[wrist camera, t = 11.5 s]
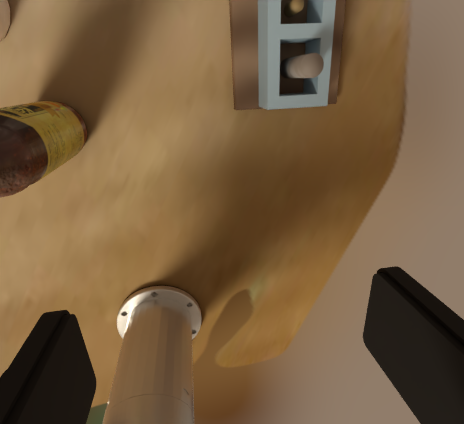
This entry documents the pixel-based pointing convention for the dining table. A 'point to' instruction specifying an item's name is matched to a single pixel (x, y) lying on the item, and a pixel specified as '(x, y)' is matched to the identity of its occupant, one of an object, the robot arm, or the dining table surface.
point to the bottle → (4, 18)
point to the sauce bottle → (36, 142)
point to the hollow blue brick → (312, 33)
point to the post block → (291, 54)
